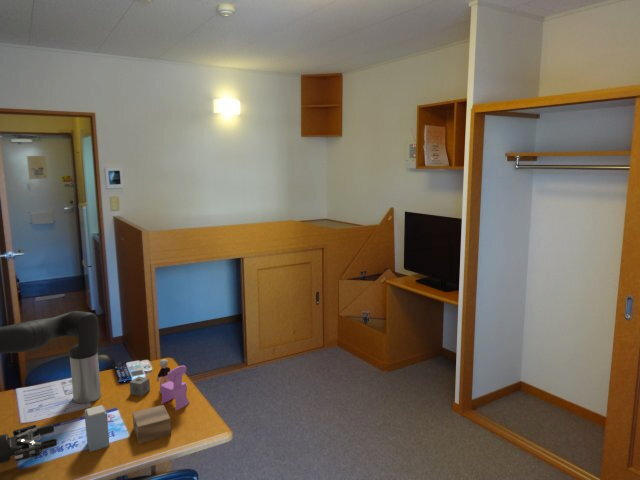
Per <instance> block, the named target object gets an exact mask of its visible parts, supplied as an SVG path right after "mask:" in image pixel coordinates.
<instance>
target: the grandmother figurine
mask: <svg viewBox="0 0 640 480" xmlns="http://www.w3.org/2000/svg"><path fill="white" fill-rule="evenodd" d="M168 363H169V361H168V359H166V358H165V359H164V358H163V359H161V360H160V361H159V363H158V364H159V366H160V370H159V372H158V374H157V377H156V382H159V394H161V395H162V392H161V390H160V388H161V385H162V384H164V383H167V382H169V380H168V379H167V375H168V373H169V372H170V371H171V370H172V369H171V368H170V367H169V366H168Z"/></svg>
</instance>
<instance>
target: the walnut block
mask: <svg viewBox="0 0 640 480" xmlns="http://www.w3.org/2000/svg"><path fill="white" fill-rule="evenodd" d="M131 414H132V424H133V427H132V428H133V431H134V434H135V436H136V437H135V438H136V439H137V443H138V445H139V444H143V443H147V442H150V441H154V440H157V439H161V438H165V437H170V436H172V425H171V424H172V423H171V422H172V421H171V417H170V415H169V412H168V411H167V409H166V407H165V404H161V405H157V406H152V407H148V408H144V409H139V410H137V411H132V413H131Z"/></svg>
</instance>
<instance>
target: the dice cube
mask: <svg viewBox="0 0 640 480" xmlns="http://www.w3.org/2000/svg"><path fill="white" fill-rule="evenodd" d="M150 383H151V382H150V378H149V377H145V376H136V377H135V378H134V379H132V380H130V381H129V392H130V395H133V396H134V395H135V396H138V397H142V396H144V395H145V394H147V393H148V392H150V390H151V386H150V385H151V384H150Z"/></svg>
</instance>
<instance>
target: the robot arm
mask: <svg viewBox="0 0 640 480" xmlns="http://www.w3.org/2000/svg"><path fill="white" fill-rule="evenodd" d="M99 325H100V324H99V318H98V317H97V315H96V314H95V313H94V312H89V311H88V312H87V311H80V310H73V311H69V312H65V313H62V314H60V315H56V316H54V317H53V316H52V317H48V318H40V319H32V320H27V321H23V322H18V323H14V324H10V325H9V324H8V325H4V326H0V354H16V353H25V352H28V351H31V350H32V351H33V350H36V349H39V348H41V347H43V346H45V345H47V344H48V343H49V341H50V340H52V339H56V338H60V337H61V338H62V337H74V338H78V343H77V344H75V345H72V346H71V347H69V351H68V352H69V353H68V354H69V362H70V363H69V364H70V373H71V375H70V376H71V385H72V395H73V396H72V398H73V402H74V403H76V404H81V405H82V404H89V403H93V402H95V401H97V400H99V399H100V398H101V397H102V392H101V379H100V378H101V377H100V368H99V366H100V365H99V355H98V353H99V352H98V351H99V350H98V348H99V344H100V343H99V342H100V330H99V329H100V327H99ZM54 432H55V426H54V424H49V425H45V426H42V427H41V426H40V427H39V426H37V424H33V425H29V426H25V427H21V428H18V429H14V430H12V436H11V437H9V434H8V433H4V434H1V435H0V465H1V464H4V463H5V464H6V463H7V462H10V461H11V457H12V456H14V462H19V461H24V460H28V459H31V458H36V457H39V456H40V455H41V452H42V451H43V450H47V449H50V448H54V447H56V446H57V445H58V441H57V439H58V438H56V437H53V438H49V439H46V440H42V441H35V440H34V439H36V438H37V437H39V436H44V435H47V434H52V433H54Z"/></svg>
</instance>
